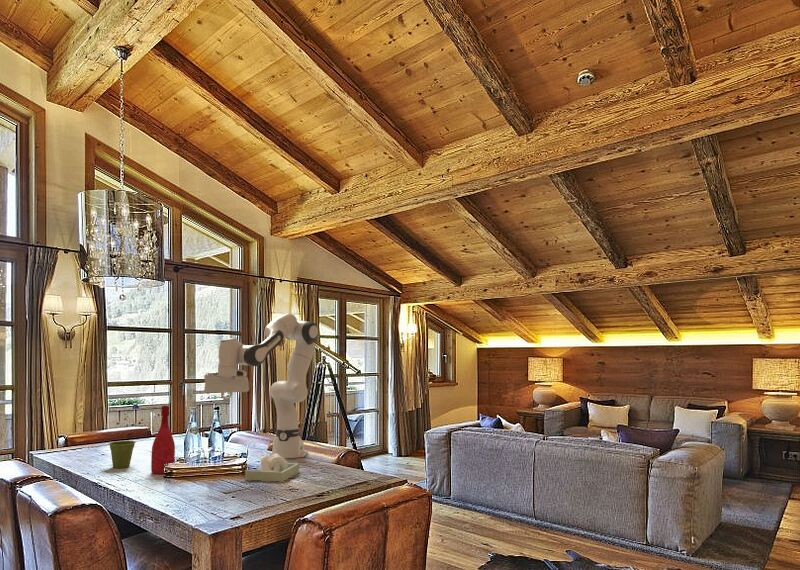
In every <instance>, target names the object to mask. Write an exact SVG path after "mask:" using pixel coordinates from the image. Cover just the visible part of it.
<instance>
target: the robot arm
mask: <svg viewBox="0 0 800 570" xmlns="http://www.w3.org/2000/svg"><path fill="white" fill-rule="evenodd" d="M264 335H265V340H263V341H262V342H261V343H258V344H251V345H250V344H249V345H248V344H244V343H242V342H241V341H239V340H238V338H237V337H228V338H224V339H221V341H220V342H219V346H218V360H219V361H218V365H217V372H215V371H213V372H210V371H209V372H207V373H205V374H204V376H203V377H204V380H203V381H204V382H205V383H204V392H205V393H220V396H221V397H222V400H223V401H222V402H223V403H230V401H231V397H232V396H233V393H247V392H249V390H250V384H249V378H248V377H247V375H248V372H247V371H246V370H242V369H239V368H238V365H240V366H252V367H259V366H261V365H262V364H263V363H264V362H265V361H266V359H267V357H268V355H270V353H272V352H273V351H274V350H275V349H276V348H277V347H278V346H279V345H280V344H281V343H282V342H283V341H284V339H287V340H292V341H295V347H294V349H292V350H293V351H292V352H291V356H290V358H289V359H288V360H289V361H288V362H287V363H288V364H287V365H286V370H287V375H288V376H287V380H278V381H276V382H273V383H272V385H271V386H270V387H269V393H270V396H271V398H272V400H273V402H274V405H275V408H276V409H275V410H276V429H275V437H274V438H273V440H272V441H273V442H272V448H271V449H272V450H271V453H269V457H271V456H272V455H273V454H279V455H280V456H281V457H283V458H284V459H295V458H304V457H306V455H307V454H308V453H309V451H308V450H306V449H305V448H304V447H305V446H304V444H305V443H304V440H303V439H302V438H301V436H300V433H301V428H300V427H299V412H298V410H297V409H296V407H295V404H299V403H301V402H303V401H305V400H306V399H307V397H308V387H307V385H306V384H307V383H306V380H307V374H308V371H309V368H310V365H311V362H312V359H313V356H314V352H315V347H316V344H315V343H316V341H317V338H318V336H319V325H317V323H315V322H313V321H309V320H308V321H307V320H303V319H301V320H298V319H297V317H296V316H295V315H294V314H292V313H290V312H287V313H284V314H282V315H279V316H277V317H276V318H274V319H273V320H271V321H270V322H269V323H267V325H266V326H265V327H264ZM225 393H228V395H229V396H228V397H225Z"/></svg>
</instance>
